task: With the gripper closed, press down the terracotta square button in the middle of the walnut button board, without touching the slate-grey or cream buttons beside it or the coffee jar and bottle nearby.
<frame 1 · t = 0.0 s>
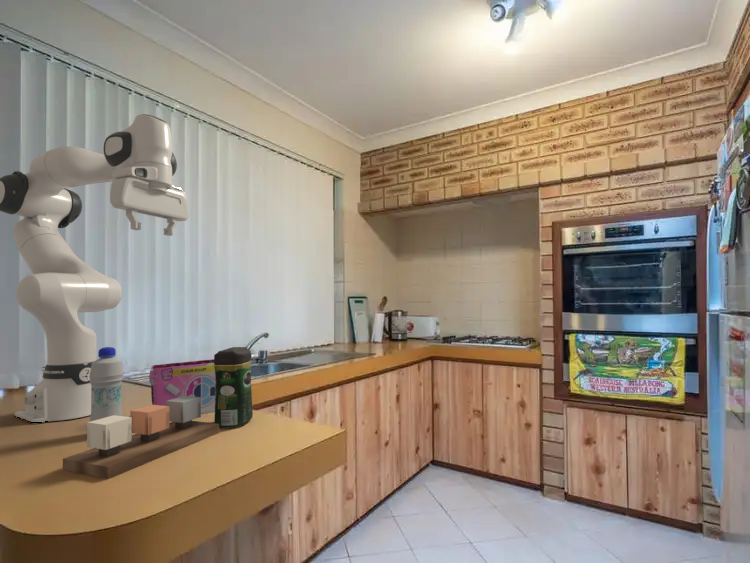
hand: (152, 232, 104), 48 cm above the countertop, fingers open, 8 cm apart
bottle: (106, 434, 95), on the countertop
terracotta button: (150, 419, 84), point 6 cm above the countertop, slide at 0.0 cm
cream button: (109, 431, 76), point 6 cm above the countertop, slide at 0.0 cm
button board: (150, 449, 84), on the countertop
coffee jar: (233, 424, 101), on the countertop
slate-grey button: (183, 409, 92), point 6 cm above the countertop, slide at 0.0 cm
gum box: (199, 412, 113), on the countertop
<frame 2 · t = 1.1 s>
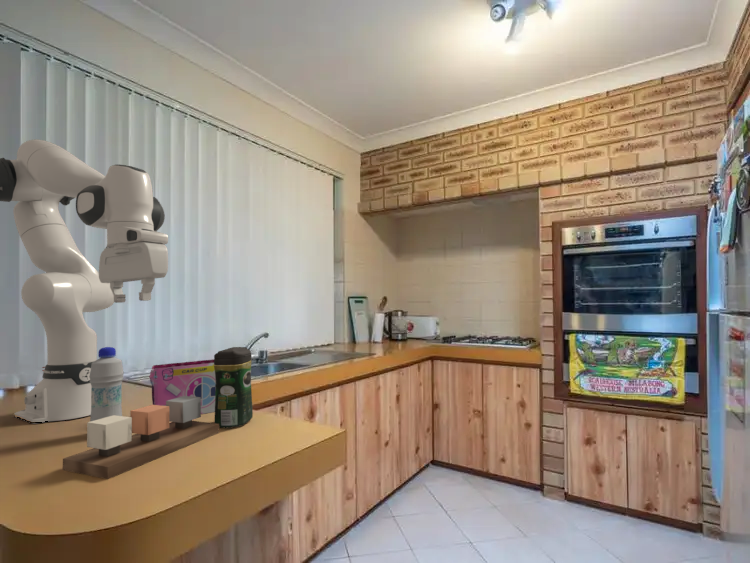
hand: (132, 301, 89), 30 cm above the countertop, fingers open, 8 cm apart
nothing on the countertop moved.
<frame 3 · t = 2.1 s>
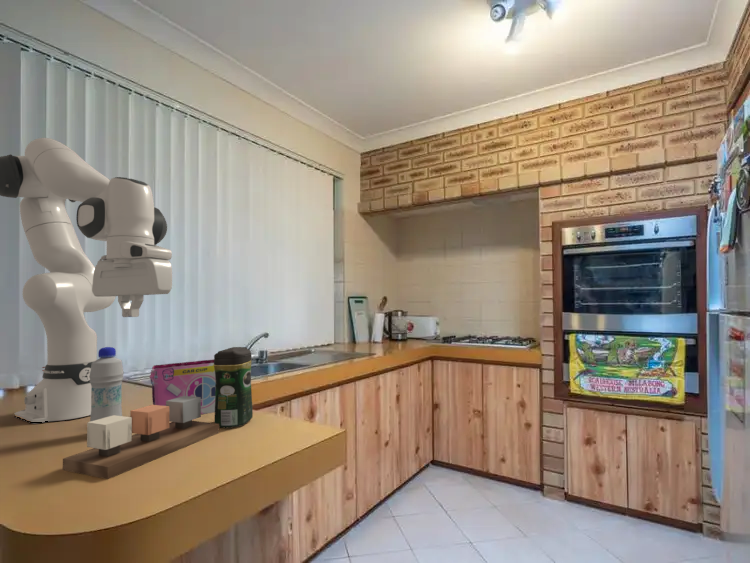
hand: (130, 317, 87), 27 cm above the countertop, fingers closed
nothing on the countertop moved.
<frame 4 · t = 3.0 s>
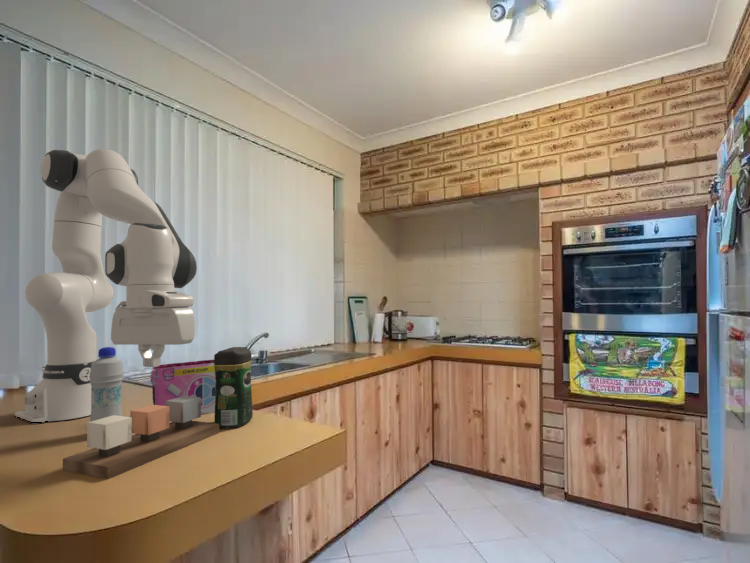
hand: (151, 366, 85), 17 cm above the countertop, fingers closed
nothing on the countertop moved.
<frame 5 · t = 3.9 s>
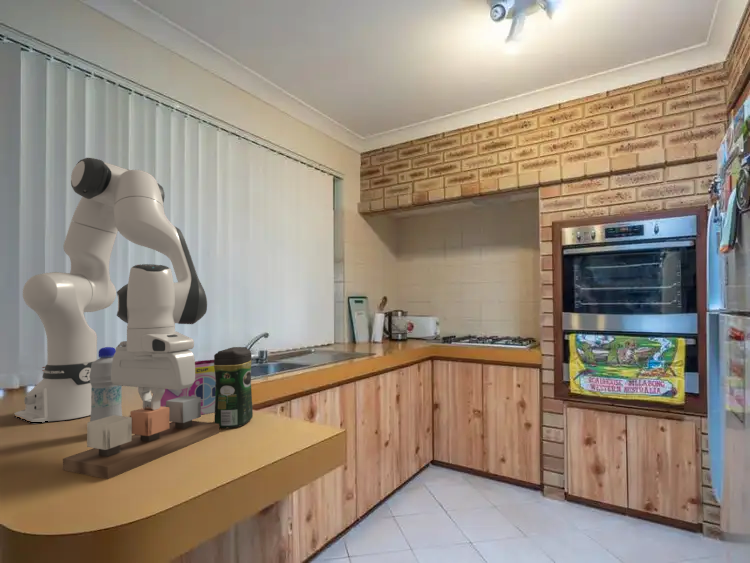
hand: (151, 408, 84), 8 cm above the countertop, fingers closed, pressing on terracotta button
terracotta button: (150, 420, 84), point 6 cm above the countertop, slide at 0.2 cm, touching gripper
everything else where it was.
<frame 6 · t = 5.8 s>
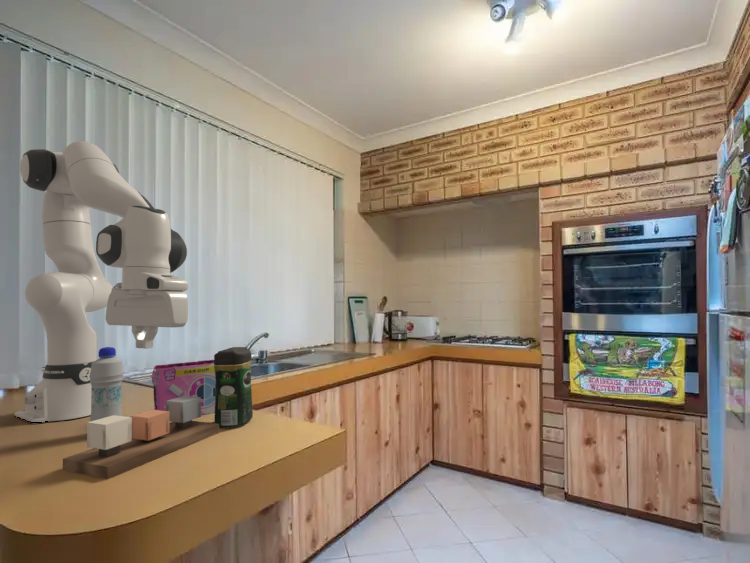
hand: (144, 348, 86), 20 cm above the countertop, fingers closed
terracotta button: (150, 424, 84), point 5 cm above the countertop, slide at 1.1 cm
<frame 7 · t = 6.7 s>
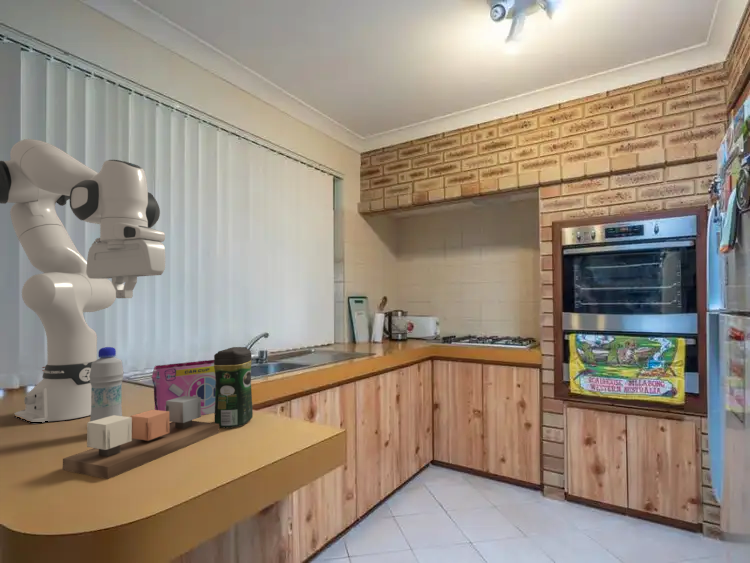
hand: (124, 298, 88), 31 cm above the countertop, fingers closed
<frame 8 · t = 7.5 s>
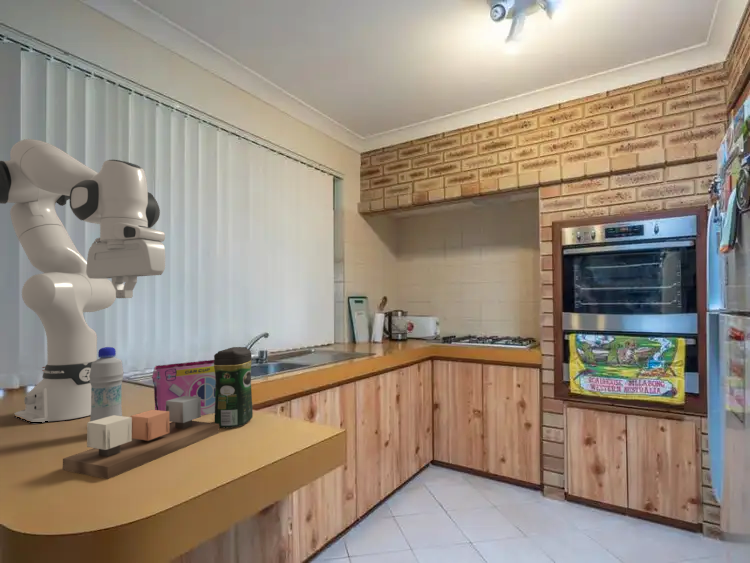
hand: (124, 298, 88), 31 cm above the countertop, fingers closed
at the end: terracotta button slide at 1.1 cm; slate-grey button slide at 0.0 cm; cream button slide at 0.0 cm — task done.
